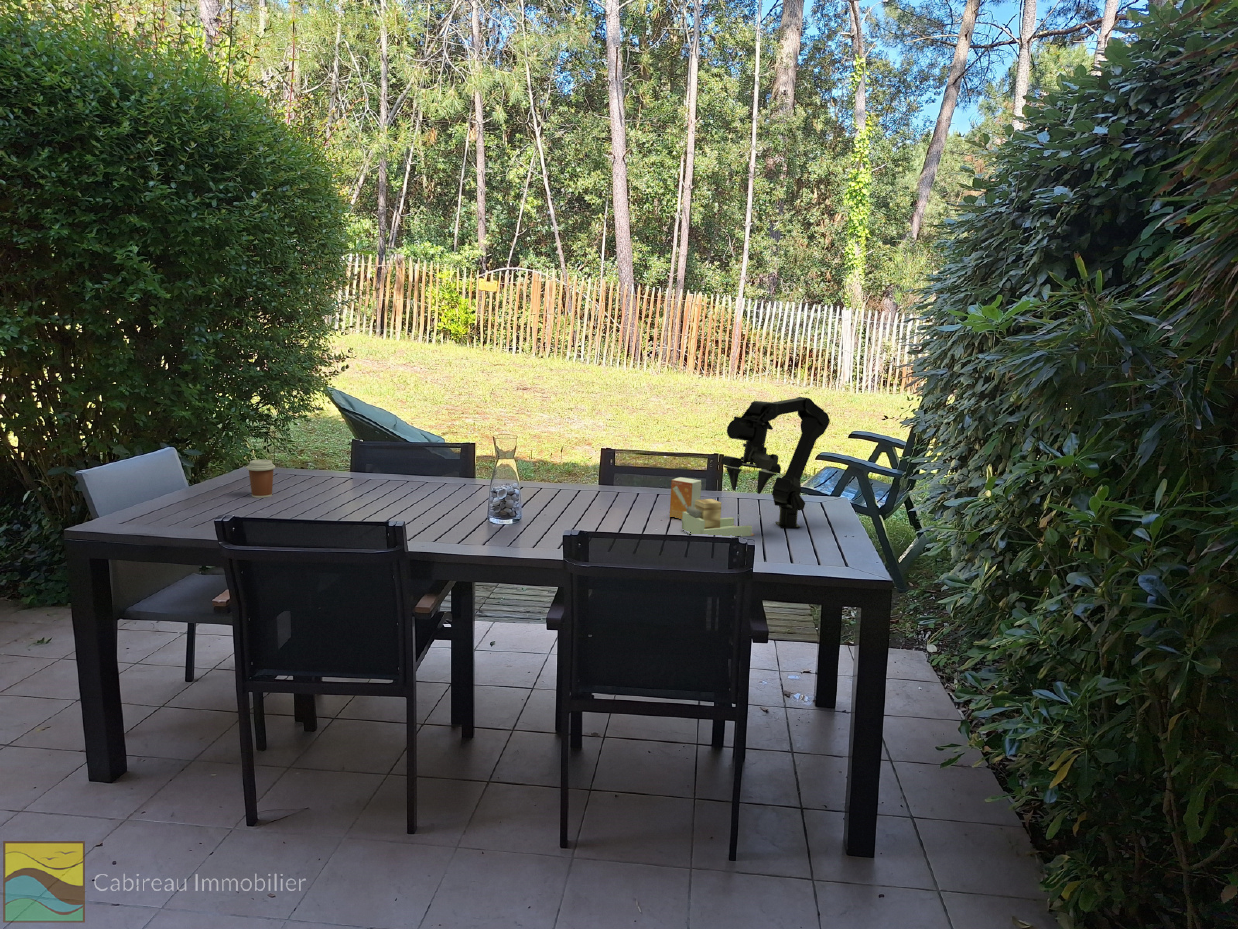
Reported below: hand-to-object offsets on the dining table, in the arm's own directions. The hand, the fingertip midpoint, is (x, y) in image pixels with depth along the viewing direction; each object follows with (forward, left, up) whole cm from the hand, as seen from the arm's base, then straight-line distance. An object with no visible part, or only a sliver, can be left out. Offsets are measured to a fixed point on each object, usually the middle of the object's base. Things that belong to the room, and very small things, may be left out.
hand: (746, 492), depth 272 cm
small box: (-19, -15, -13) cm, 28 cm away
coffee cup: (-50, -155, -13) cm, 164 cm away
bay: (0, -9, -13) cm, 16 cm away
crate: (+1, -12, -13) cm, 18 cm away
